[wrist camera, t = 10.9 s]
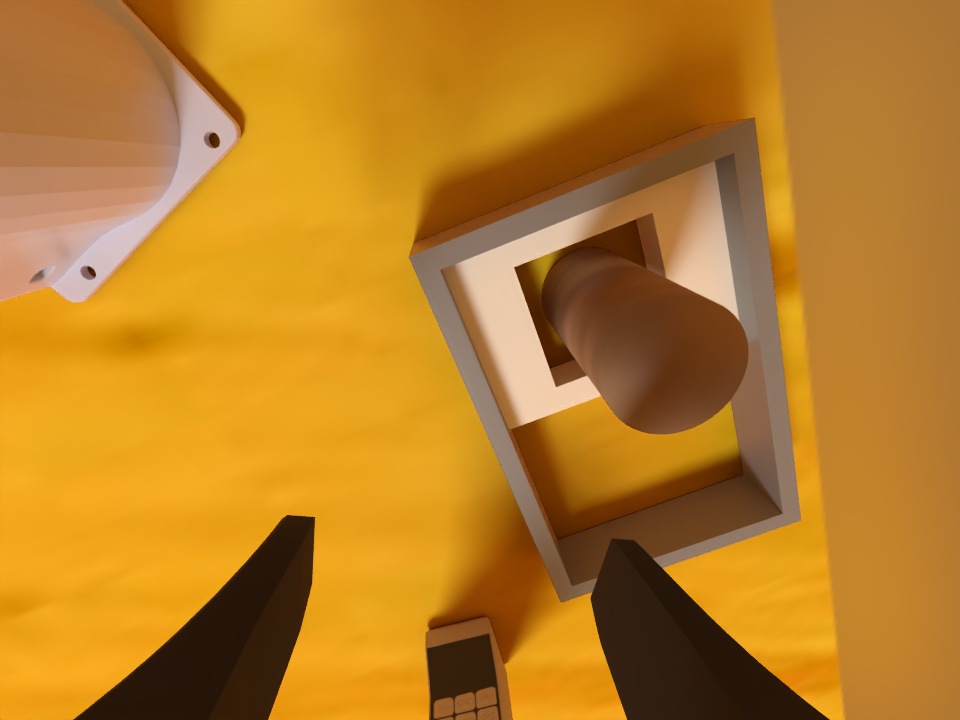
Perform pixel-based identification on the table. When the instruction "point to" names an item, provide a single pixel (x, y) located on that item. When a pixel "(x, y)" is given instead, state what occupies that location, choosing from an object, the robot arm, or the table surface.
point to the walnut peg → (645, 340)
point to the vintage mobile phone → (466, 673)
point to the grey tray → (542, 391)
